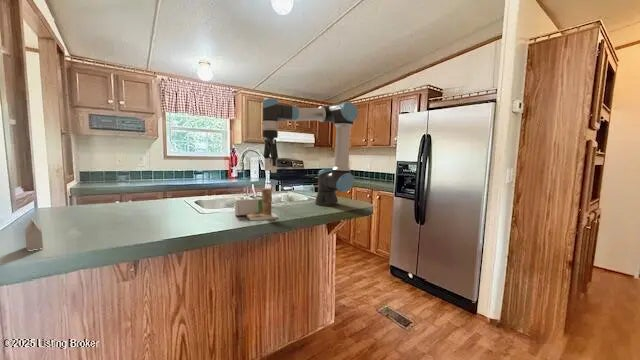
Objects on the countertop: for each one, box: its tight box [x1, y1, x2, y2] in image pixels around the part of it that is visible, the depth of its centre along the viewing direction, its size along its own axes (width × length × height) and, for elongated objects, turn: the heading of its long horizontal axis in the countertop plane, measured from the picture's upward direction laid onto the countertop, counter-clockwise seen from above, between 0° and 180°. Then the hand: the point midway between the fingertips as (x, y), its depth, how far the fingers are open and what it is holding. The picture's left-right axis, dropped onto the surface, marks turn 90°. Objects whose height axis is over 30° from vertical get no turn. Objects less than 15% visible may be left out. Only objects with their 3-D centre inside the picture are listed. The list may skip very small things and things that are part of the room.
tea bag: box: [24, 217, 44, 251], centre depth 93 cm, size 4×7×10 cm, turn 48°
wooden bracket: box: [245, 187, 272, 219], centre depth 141 cm, size 12×6×14 cm, turn 113°
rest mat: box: [248, 212, 279, 222], centre depth 142 cm, size 14×9×1 cm, turn 114°
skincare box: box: [234, 198, 262, 216], centre depth 147 cm, size 8×7×16 cm
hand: (270, 171), depth 141 cm, fingers open, 13 cm apart
